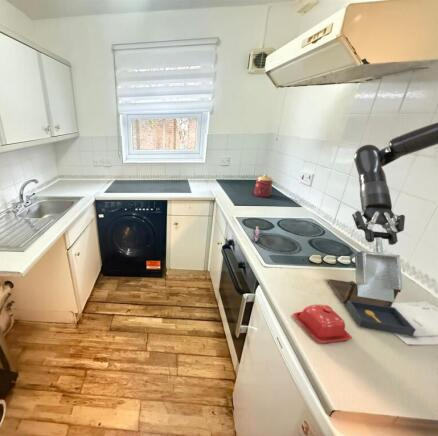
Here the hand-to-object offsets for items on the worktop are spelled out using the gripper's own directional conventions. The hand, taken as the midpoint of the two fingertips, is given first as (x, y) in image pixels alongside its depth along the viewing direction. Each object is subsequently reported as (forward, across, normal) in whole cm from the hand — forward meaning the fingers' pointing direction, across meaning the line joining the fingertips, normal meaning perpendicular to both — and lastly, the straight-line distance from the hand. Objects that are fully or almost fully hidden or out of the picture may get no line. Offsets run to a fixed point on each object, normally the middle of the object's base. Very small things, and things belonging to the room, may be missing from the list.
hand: (381, 242), depth 77 cm
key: (+24, -1, +7) cm, 25 cm away
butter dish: (+30, -19, +1) cm, 35 cm away
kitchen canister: (-71, -14, +105) cm, 128 cm away
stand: (+15, 0, +16) cm, 22 cm away
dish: (+6, 0, +6) cm, 9 cm away
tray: (+24, 0, +7) cm, 25 cm away
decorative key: (-14, -29, +46) cm, 56 cm away
